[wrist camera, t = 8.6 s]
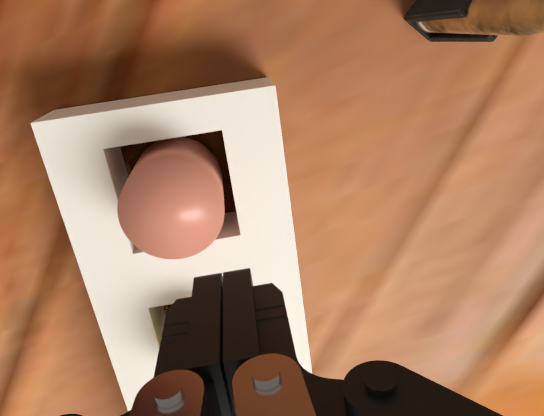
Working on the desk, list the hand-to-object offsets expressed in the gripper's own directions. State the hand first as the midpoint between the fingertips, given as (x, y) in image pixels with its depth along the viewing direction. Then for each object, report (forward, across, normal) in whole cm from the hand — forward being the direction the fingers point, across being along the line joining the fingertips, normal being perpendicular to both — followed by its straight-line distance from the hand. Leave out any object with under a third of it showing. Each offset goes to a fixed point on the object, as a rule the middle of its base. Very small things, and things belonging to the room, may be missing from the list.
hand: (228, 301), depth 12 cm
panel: (+12, +2, +8) cm, 14 cm away
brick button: (+11, +2, 0) cm, 11 cm away
